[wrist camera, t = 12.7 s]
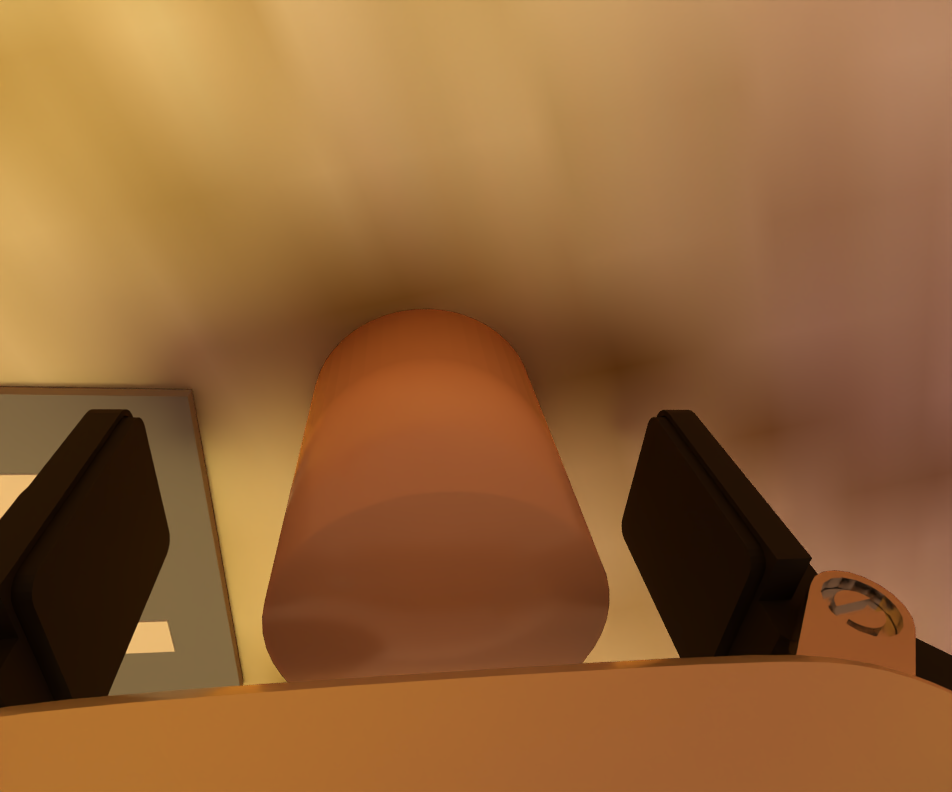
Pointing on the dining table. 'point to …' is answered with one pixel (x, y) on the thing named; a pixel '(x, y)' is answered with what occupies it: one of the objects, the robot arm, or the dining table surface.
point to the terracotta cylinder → (429, 515)
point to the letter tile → (188, 516)
